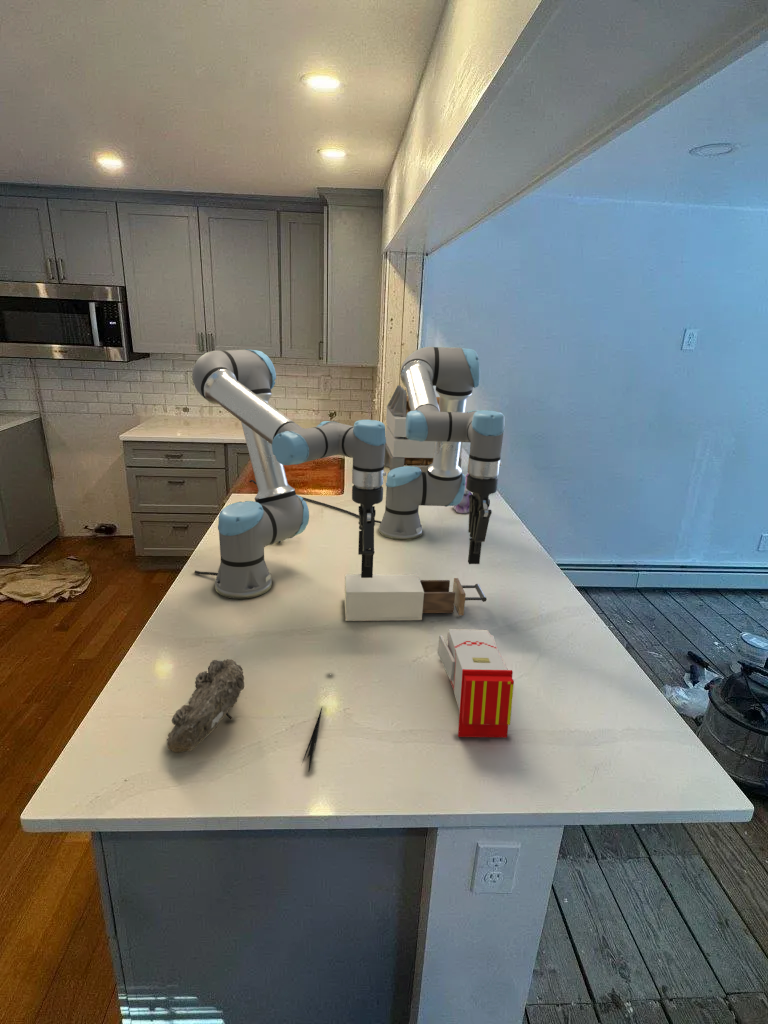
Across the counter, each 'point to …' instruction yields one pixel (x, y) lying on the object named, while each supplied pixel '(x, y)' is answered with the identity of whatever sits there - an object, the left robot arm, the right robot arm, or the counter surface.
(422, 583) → the drawer
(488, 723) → the toy
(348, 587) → the cabinet
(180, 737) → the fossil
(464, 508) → the figurine
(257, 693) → the counter surface
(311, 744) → the feather
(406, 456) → the transformer
